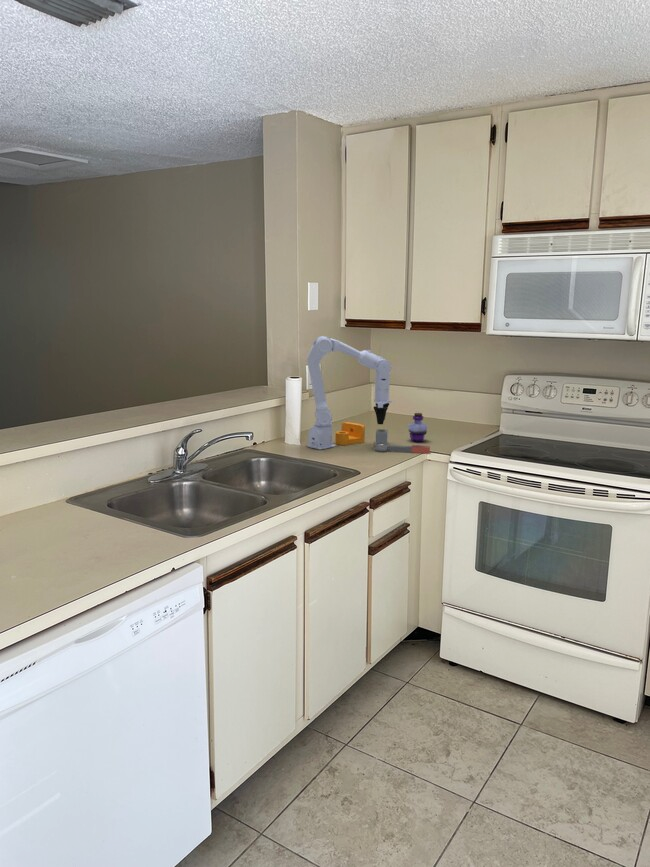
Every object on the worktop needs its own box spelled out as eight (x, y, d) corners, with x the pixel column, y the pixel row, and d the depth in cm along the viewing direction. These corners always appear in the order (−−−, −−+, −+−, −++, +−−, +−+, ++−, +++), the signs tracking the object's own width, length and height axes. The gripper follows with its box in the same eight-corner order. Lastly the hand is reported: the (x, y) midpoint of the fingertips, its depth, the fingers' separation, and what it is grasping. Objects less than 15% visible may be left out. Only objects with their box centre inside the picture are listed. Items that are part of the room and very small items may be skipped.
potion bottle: (431, 441, 281) (433, 413, 279) (418, 444, 276) (419, 415, 273) (416, 437, 288) (417, 410, 285) (402, 440, 282) (403, 412, 279)
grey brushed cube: (375, 443, 262) (375, 431, 261) (376, 441, 267) (376, 429, 265) (386, 444, 262) (387, 432, 261) (387, 441, 266) (387, 429, 265)
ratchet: (373, 451, 262) (373, 438, 261) (374, 448, 268) (374, 434, 267) (429, 454, 259) (430, 440, 258) (429, 450, 265) (430, 437, 264)
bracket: (366, 424, 277) (348, 429, 268) (365, 441, 279) (348, 446, 270) (345, 421, 284) (328, 425, 275) (345, 438, 285) (327, 442, 276)
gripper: (391, 392, 259) (389, 426, 262) (393, 386, 273) (392, 419, 276) (372, 391, 260) (371, 425, 263) (376, 386, 274) (375, 418, 277)
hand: (381, 422), depth 269 cm, fingers open, 7 cm apart
